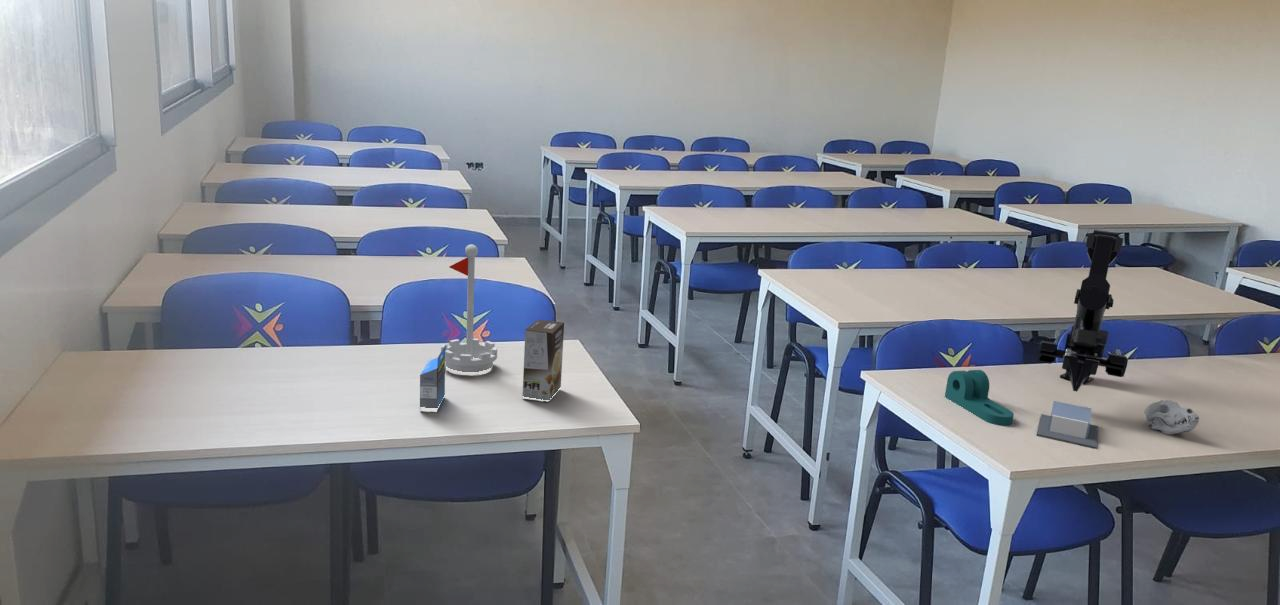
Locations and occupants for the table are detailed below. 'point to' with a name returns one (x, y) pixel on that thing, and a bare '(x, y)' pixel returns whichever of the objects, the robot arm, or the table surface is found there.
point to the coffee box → (543, 359)
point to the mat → (1046, 433)
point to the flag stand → (469, 328)
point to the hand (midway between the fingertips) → (1075, 390)
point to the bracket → (976, 396)
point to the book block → (1070, 419)
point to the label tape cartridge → (433, 382)
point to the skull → (1170, 417)
